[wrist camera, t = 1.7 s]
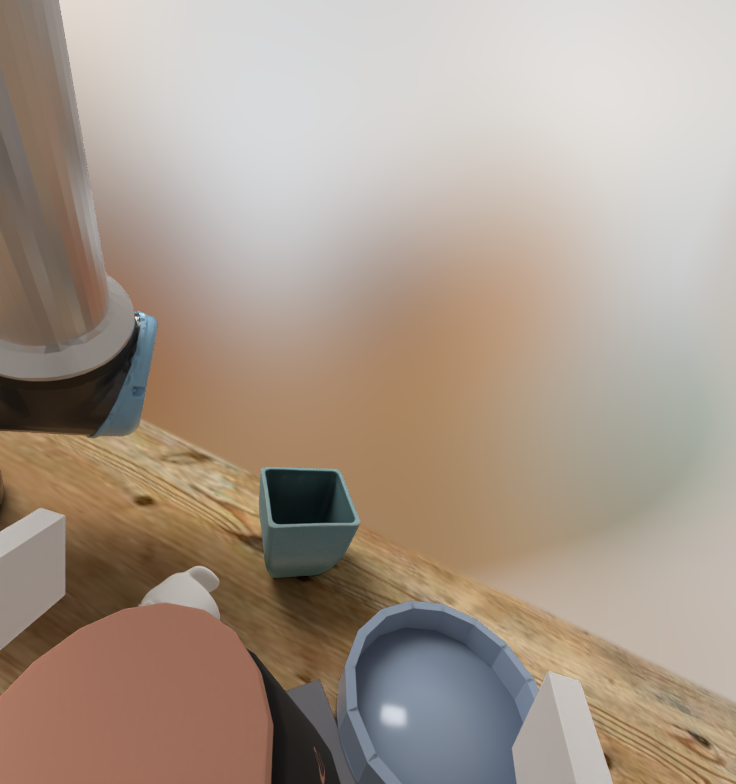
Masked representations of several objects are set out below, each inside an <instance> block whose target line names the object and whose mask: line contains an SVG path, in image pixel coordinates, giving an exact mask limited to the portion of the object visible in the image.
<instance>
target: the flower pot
mask: <svg viewBox="0 0 736 784" xmlns="http://www.w3.org/2000/svg"><path fill="white" fill-rule="evenodd" d="M259 515H260V522H261V530H262V538H263V547H264V558H265V565H266V568H267V570H268V572H269V574H270V575H271V576H272V577H274V578H284V577H295V576H313V575H319V574H321V573H323V572H325V571H327V570H329V569H330V568H332V567H333V566H334V565H336V564H337V563H338V562H339V561H340V559H341V558H342V557H343V555H344V554H345V552H346V550H347V549H348V547H349V545H350V543H351V541H352V539H353V537H354V535H355V533H356V531H357V529H358V527H359V525H360V519H359V517H358V514H357V512H356V510H355V507H354V505H353V502H352V499H351V497H350V494H349V492H348V489H347V487H346V484H345V481H344V478H343V476H342V473H341V472H340V471H339V470H336V469H314V468H313V469H308V468H281V467H266V468H261V477H260V494H259Z"/></svg>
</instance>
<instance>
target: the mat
mask: <svg viewBox="0 0 736 784" xmlns="http://www.w3.org/2000/svg"><path fill="white" fill-rule="evenodd" d="M285 692H286V693H287V694H288V695H289V696H290V698H291V699H292V700H293V701H294V703H295V704H296V705H297V706H298V707H299V709H300V710H301V711H302V712H303V713H304V715H305V716H306V717H307V718H308V720H309V721H310V722H311V723H312V724H313V726H314V727H315V728H316V730H317V731H318V733H319V734H320V736H321V737H322V739H323V740H324V742H325V743H326V745H327V746H328V748H329V750H330V751H331V753H332V756H333V760H334V763H335V766H336V770H337V773H338V776H339V780H340V783H341V784H356V783H355V781H354V779H353V777H352V775H351V772H350V770H349V768H348V765H347V763H346V760H345V757H344V754H343V750H342V747H341V743H340V738H339V733H338V727H337V725H336V722H335V719H334V717H333V714H332V711H331V709H330V706H329V703H328V701H327V698H326V695H325V693H324V690H323V687H322V684H321V682H320V679H318V680H316V681H313V682H310V683H307V684H305V685H302V686H299V687H296V688H293V689H291V690H288V691H285Z"/></svg>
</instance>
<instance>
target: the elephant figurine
mask: <svg viewBox="0 0 736 784" xmlns="http://www.w3.org/2000/svg"><path fill="white" fill-rule="evenodd" d="M219 584H220V582H219V579H218V577H217V576H216V575H215V574H214V573H213V572H212V571H211V570H209V569H208V568H206V567H203V566H195V567H193V568H191V569H189V570H187V571H186V572H183V573H176V574H173V575H171V576H170V577H168V578H167V579H166V580H164V581H163V582H162V583H161V584H159V585H158V586H156V587H154V588H153V589H152V590H150V591H149V592H148V593H147V594H146V596H145V597H144V599H143V600H142V602H141V605H140V604H139V603H138V604H139V606H145V605H152V604H158V603H165V602H166V603H172V604H177V605H182V606H187V607H192V608H198V609H203V610H205V611H207V612H208V613H210V614H211V615H212V616H214V617H215V618H217V619H218V620H220V613H219V609H218V607H217V605H216V603H215V601H214V599H213V598H212V596H211V595H210V594H209V592H211V591H213V590H215V589H216V588H217V587H218V586H219Z"/></svg>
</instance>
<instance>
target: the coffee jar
mask: <svg viewBox="0 0 736 784" xmlns="http://www.w3.org/2000/svg"><path fill="white" fill-rule="evenodd" d="M0 784H341V783H340V780H339V776H338V773H337V770H336V766H335V763H334V760H333V756H332V753H331V751H330V750H329V748H328V746H327V745H326V743H325V742H324V740H323V739H322V737H321V736H320V734H319V733H318V731H317V730H316V728H315V727H314V726H313V724H312V723H311V722H310V721H309V720H308V718H307V717H306V716H305V715H304V713H303V712H302V711H301V710H300V709H299V707H298V706H297V705H296V704H295V703H294V701H293V700H292V699H291V698H290V696H289V695H288V694H287V693H286V692H285V690H284V689H283V688H282V687H281V685H280V684H279V683H278V682H277V681H276V679H275V678H274V677H273V676H272V674H271V673H270V672H269V671H268V670H267V668H266V667H265V666H264V665H263V664H262V662H261V661H260V660H259V659H258V657H257V656H256V655H255V654H254V653H253V652H251V651H250V650H248V649H247V648H246V647H245V646H244V644H243V643H242V641H241V639H240V638H239V636H238V635H237V633H236V632H235V631H234V630H233V629H231V628H230V627H229V626H227V625H226V624H224V623H223V622H221V621H220V620H218V619H217V618H215V617H214V616H212V615H211V614H210V613H208V612H207V611H205V610H203V609H198V608H192V607H187V606H182V605H177V604H172V603H166V602H165V603H158V604H152V605H145V606H139V607H133V608H126V609H122V610H120V611H118V612H116V613H113V614H111V615H109V616H107V617H104V618H102V619H100V620H98V621H95V622H93V623H91V624H89V625H87V626H84V627H82V628H80V629H78V630H77V631H75V632H74V633H73V634H71V635H70V636H69V637H67V638H66V639H64V640H63V641H62V642H60V643H59V644H58V645H56V646H55V647H53V648H52V649H51V650H49V651H48V652H47V653H45V654H44V655H42V656H41V657H40V658H38V659H37V660H36V661H34V662H33V663H32V664H31V665H30V666H29V667H28V668H27V669H26V670H25V671H24V672H23V673H22V674H21V675H20V676H19V677H18V678H17V679H16V680H15V682H14V683H13V684H12V685H11V686H10V687H9V688H8V689H7V690H6V691H5V692H4V693H3V694H2V695H1V696H0Z"/></svg>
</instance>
